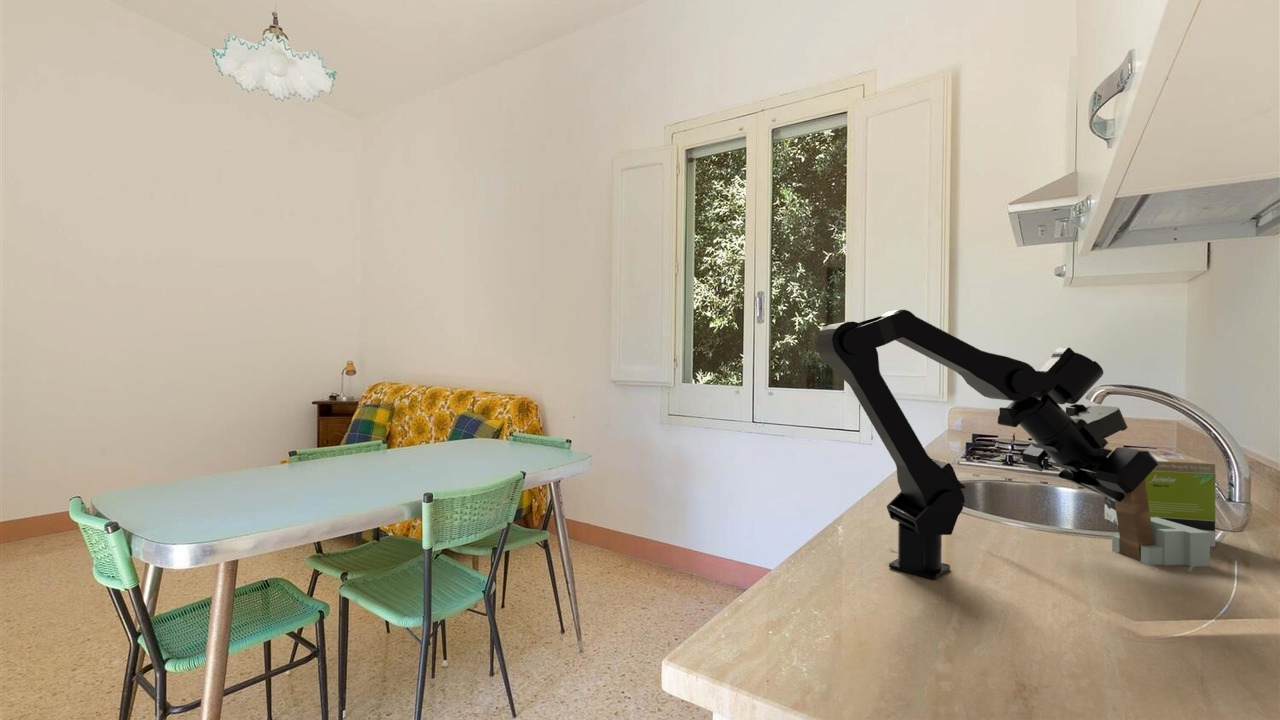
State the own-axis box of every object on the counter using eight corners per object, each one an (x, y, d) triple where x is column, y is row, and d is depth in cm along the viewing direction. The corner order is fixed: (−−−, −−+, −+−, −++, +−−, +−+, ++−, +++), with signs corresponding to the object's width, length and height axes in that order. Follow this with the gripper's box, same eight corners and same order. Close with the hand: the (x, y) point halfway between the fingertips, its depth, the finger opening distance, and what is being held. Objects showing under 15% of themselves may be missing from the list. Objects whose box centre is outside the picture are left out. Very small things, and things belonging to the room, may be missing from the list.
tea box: (1101, 523, 109) (1102, 445, 109) (1168, 528, 106) (1168, 448, 106) (1140, 547, 95) (1141, 458, 95) (1218, 555, 92) (1219, 461, 91)
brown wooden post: (1140, 562, 85) (1127, 468, 85) (1122, 555, 88) (1109, 464, 88) (1156, 559, 85) (1142, 465, 85) (1137, 552, 88) (1124, 462, 88)
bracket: (1145, 575, 82) (1145, 533, 82) (1097, 556, 90) (1097, 518, 90) (1214, 574, 83) (1214, 532, 83) (1160, 555, 91) (1160, 517, 91)
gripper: (1144, 391, 77) (1222, 473, 77) (1039, 384, 95) (1102, 450, 96) (1088, 451, 76) (1167, 532, 77) (993, 433, 95) (1057, 498, 96)
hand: (1120, 499), depth 86 cm, fingers closed, pressing on brown wooden post
